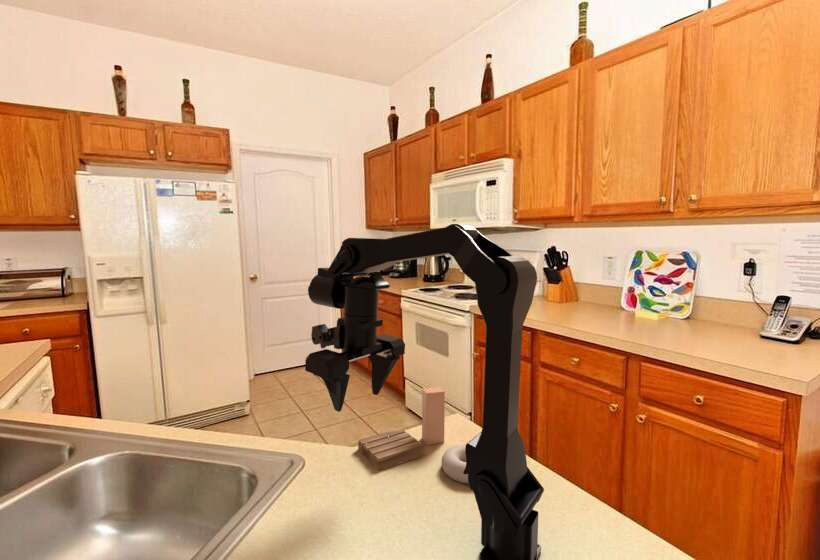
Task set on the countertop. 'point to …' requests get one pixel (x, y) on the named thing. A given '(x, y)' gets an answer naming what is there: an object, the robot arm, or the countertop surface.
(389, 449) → the stacked wooden slats
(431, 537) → the countertop surface
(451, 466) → the donut
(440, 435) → the clay bar
